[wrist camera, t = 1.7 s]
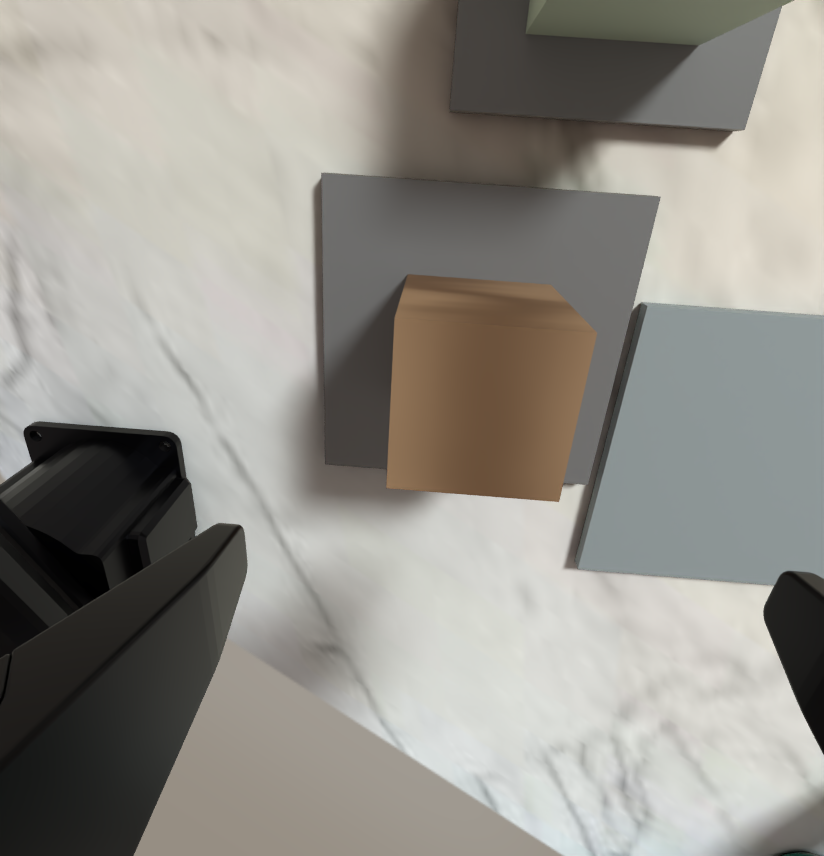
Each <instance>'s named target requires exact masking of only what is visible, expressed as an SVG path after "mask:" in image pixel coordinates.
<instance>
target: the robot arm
mask: <svg viewBox="0 0 824 856" xmlns="http://www.w3.org/2000/svg"><path fill="white" fill-rule="evenodd" d="M37 432H38V433H40V435H41V436H42V437H41V436H39V435H38V434H37ZM24 437H25V441H26V444H27V447H28V451H29V454H30V457H31V460H32V462H31V463H30V464H29V465H27V466H26V467H24V468H23V469H22V470H20V471H19V472H17V473H16V474H15V475H13V476H12V477H10V478H9V479H8V480H6V481H5V482H4V483H2V484H1V485H0V856H133V855H134V853H135V851H136V849H137V847H138V844H139V842H140V840H141V837H142V835H143V833H144V831H145V828H146V826H147V824H148V822H149V819H150V817H151V815H152V813H153V810H154V808H155V806H156V804H157V801H158V799H159V797H160V794H161V792H162V790H163V788H164V785H165V783H166V781H167V778H168V776H169V774H170V772H171V770H172V767H173V765H174V763H175V761H176V758H177V756H178V754H179V751H180V749H181V747H182V745H183V742H184V740H185V738H186V736H187V733H188V731H189V729H190V727H191V724H192V722H193V720H194V717H195V715H196V713H197V711H198V708H199V706H200V704H201V702H202V699H203V697H204V695H205V693H206V690H207V688H208V686H209V684H210V681H211V679H212V677H213V674H214V672H215V670H216V667H217V665H218V662H219V660H220V656H221V654H222V651H223V647H224V645H225V641H226V638H227V635H228V632H229V629H230V626H231V622H232V619H233V616H234V613H235V610H236V606H237V603H238V600H239V597H240V594H241V591H242V587H243V584H244V581H245V578H246V573H247V553H246V543H245V533H244V529H243V527H242V526H240V525H238V524H226V523H218V524H216V525H214V526H212V527H210V528H209V529H207V530H206V531H204V532H202V533H201V534H199V535H198V536H196V537H195V530H196V529H197V521H196V515H195V508H194V501H193V494H192V488H191V483H190V482H189V480H188V479H187V478H186V472H185V465H184V459H183V452H182V445H181V441H180V439H179V438H178V436H177V435H175V434H174V433H172V432H167V431H154V430H141V429H129V428H116V427H103V426H90V425H77V424H65V423H52V422H34V423H32V424H31V425H29V426H28V427H26V428H25V429H24ZM163 441H166V442H168V443H169V444H170V445H171V447H168V446H166V445H165V444H164V442H163ZM763 613H764V621H765V624H766V626H767V629H768V631H769V634H770V636H771V638H772V641H773V643H774V646H775V648H776V651H777V653H778V656H779V658H780V661H781V663H782V665H783V668H784V670H785V673H786V675H787V678H788V680H789V683H790V685H791V688H792V690H793V693H794V695H795V697H796V700H797V702H798V704H799V707H800V709H801V711H802V713H803V715H804V717H805V719H806V721H807V723H808V725H809V727H810V729H811V731H812V733H813V735H814V737H815V739H816V741H817V743H818V745H819V747H820V749H821V751H822V753H823V754H824V579H823V578H821V577H820V576H818V575H816V574H814V573H810V572H802V571H785V572H783V573H782V574H780V576H779V577H778V579H777V581H776V583H775V585H774V587H773V589H772V591H771V593H770V595H769V597H768V599H767V601H766V604H765V606H764V611H763Z"/></svg>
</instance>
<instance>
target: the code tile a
mask: <svg viewBox="0 0 824 856" xmlns="http://www.w3.org/2000/svg"><path fill="white" fill-rule="evenodd" d="M321 179H322V254H323V330H324V406H325V464H329V465H342V466H355V467H367V468H380V469H387V464H388V443H389V423H390V402H391V381H392V361H393V340H394V319H395V315H396V312H397V308H398V305H399V302H400V298H401V295H402V292H403V288H404V285H405V282H406V278H407V275H408V274H412V275H426V276H440V277H453V278H467V279H481V280H494V281H508V282H522V283H535V284H549V285H552V286H553V287H554V288H555V290H556V291H557V292H558V293H559V294H560V295H561V296H562V297H563V298H564V299H565V300H566V301H567V302H568V303H569V304H570V305H571V306H572V307H573V308H574V309H575V310H576V311H577V312H578V313H579V315H580V316H581V317H582V318H583V319H584V320H585V321H586V322H587V323H588V324H589V325H590V326H591V327H592V328H593V329H594V330H595V331H596V332H597V336H596V341H595V345H594V350H593V354H592V358H591V363H590V367H589V372H588V376H587V380H586V385H585V389H584V394H583V398H582V403H581V407H580V411H579V416H578V420H577V425H576V429H575V433H574V438H573V442H572V447H571V451H570V455H569V460H568V464H567V469H566V473H565V478H564V482H563V483H571V484H583V485H588V483H589V479H590V475H591V471H592V467H593V463H594V459H595V455H596V451H597V447H598V443H599V439H600V435H601V431H602V427H603V423H604V419H605V415H606V412H607V408H608V404H609V400H610V396H611V392H612V388H613V384H614V380H615V376H616V372H617V368H618V364H619V360H620V356H621V352H622V348H623V344H624V340H625V336H626V332H627V328H628V324H629V320H630V316H631V312H632V308H633V304H634V301H635V297H636V293H637V289H638V285H639V281H640V277H641V273H642V269H643V265H644V261H645V257H646V253H647V249H648V245H649V241H650V237H651V233H652V229H653V225H654V221H655V217H656V213H657V209H658V205H659V201H660V197H658V196H647V195H633V194H618V193H604V192H590V191H576V190H562V189H547V188H533V187H519V186H505V185H491V184H477V183H462V182H448V181H434V180H420V179H406V178H391V177H377V176H363V175H349V174H335V173H321Z"/></svg>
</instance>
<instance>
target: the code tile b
mask: <svg viewBox="0 0 824 856" xmlns="http://www.w3.org/2000/svg"><path fill="white" fill-rule="evenodd" d="M529 3H530V0H459V2H458V14H457V27H456V39H455V51H454V63H453V76H452V88H451V100H450V112H461V113H476V114H490V115H505V116H519V117H534V118H549V119H563V120H578V121H592V122H607V123H622V124H636V125H651V126H665V127H680V128H695V129H709V130H724V131H740V130H745V127H746V124H747V120H748V117H749V114H750V110H751V107H752V104H753V100H754V97H755V94H756V90H757V87H758V84H759V80H760V77H761V74H762V71H763V67H764V64H765V61H766V57H767V54H768V51H769V47H770V44H771V41H772V37H773V34H774V31H775V28H776V24H777V21H778V18H779V14H780V11H781V8H782V6H781V7H779V8H777V9H775V10H773V11H770V12H768V13H766V14H764V15H762V16H760V17H758V18H756V19H754V20H752V21H749V22H747V23H745V24H743V25H741V26H739V27H737V28H735V29H733V30H731V31H728V32H726V33H724V34H722V35H720V36H718V37H716V38H714V39H712V40H710V41H707V42H705V43H703V44H701V45H685V44H669V43H654V42H639V41H624V40H609V39H594V38H579V37H564V36H549V35H534V34H526V26H527V18H528V10H529Z"/></svg>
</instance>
